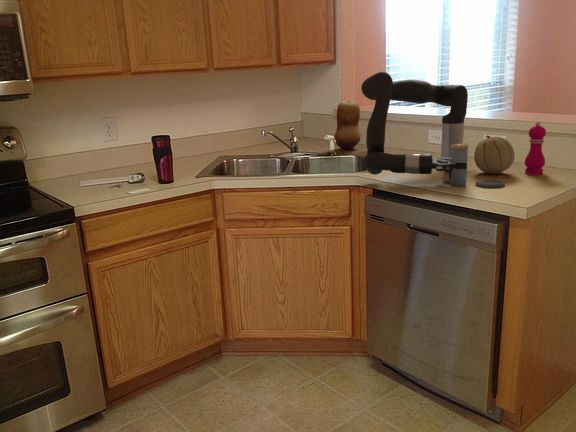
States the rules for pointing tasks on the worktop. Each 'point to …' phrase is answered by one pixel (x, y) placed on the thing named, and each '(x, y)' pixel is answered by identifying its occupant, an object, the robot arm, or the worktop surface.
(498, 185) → the coaster
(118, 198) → the worktop surface
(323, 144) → the worktop surface
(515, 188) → the worktop surface
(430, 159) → the robot arm
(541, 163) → the pepper mill
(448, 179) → the t block
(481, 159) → the cantaloupe
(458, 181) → the canister
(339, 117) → the butternut squash
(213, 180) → the worktop surface
